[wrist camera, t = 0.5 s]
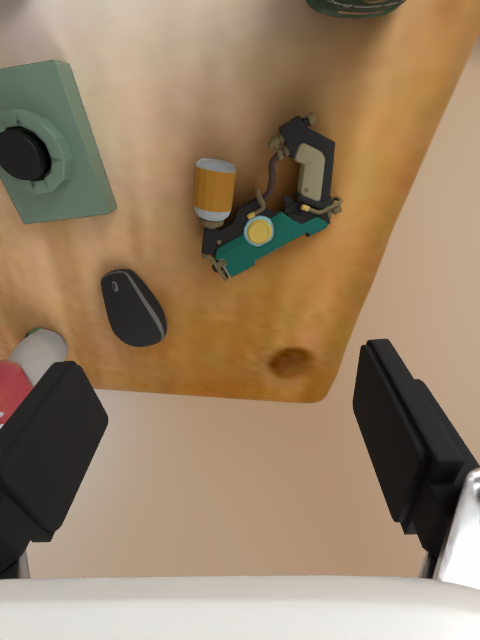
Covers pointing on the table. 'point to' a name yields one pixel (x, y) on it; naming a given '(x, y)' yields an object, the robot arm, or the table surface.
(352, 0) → the coffee jar
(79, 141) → the green push button panel
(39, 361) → the decorative ornament
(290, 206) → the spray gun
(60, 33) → the table surface
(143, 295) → the computer mouse
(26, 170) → the button
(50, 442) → the robot arm
